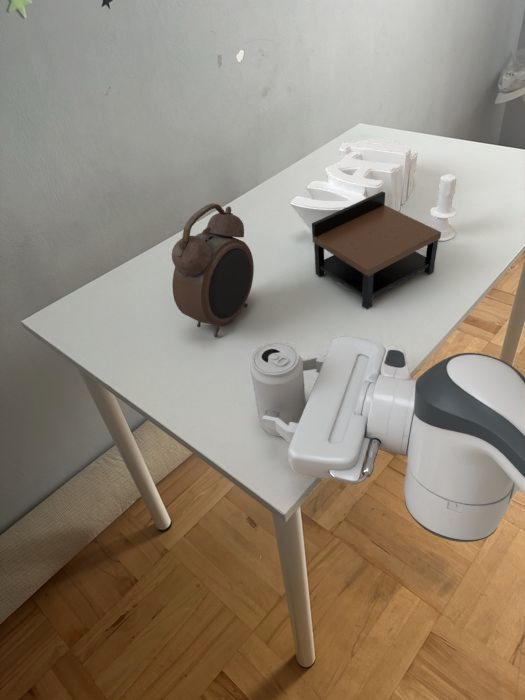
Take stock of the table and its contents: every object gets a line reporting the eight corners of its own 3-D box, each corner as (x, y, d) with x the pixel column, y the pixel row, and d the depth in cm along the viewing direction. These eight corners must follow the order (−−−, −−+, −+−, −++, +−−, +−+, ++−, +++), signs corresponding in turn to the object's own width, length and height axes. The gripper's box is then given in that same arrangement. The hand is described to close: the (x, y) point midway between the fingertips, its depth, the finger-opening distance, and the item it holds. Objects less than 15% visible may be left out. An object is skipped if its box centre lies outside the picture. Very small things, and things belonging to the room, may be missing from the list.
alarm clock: (217, 351, 80) (191, 241, 66) (182, 338, 83) (150, 230, 69) (266, 299, 88) (252, 192, 74) (232, 289, 91) (213, 184, 78)
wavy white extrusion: (359, 260, 93) (360, 208, 86) (284, 241, 101) (280, 191, 94) (429, 180, 113) (434, 132, 106) (361, 169, 121) (363, 124, 114)
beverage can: (281, 395, 71) (273, 331, 63) (316, 417, 68) (313, 353, 60) (250, 422, 68) (237, 360, 60) (285, 447, 65) (277, 384, 57)
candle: (431, 224, 100) (439, 165, 92) (458, 230, 97) (469, 170, 89) (421, 237, 97) (428, 178, 89) (448, 244, 94) (459, 183, 86)
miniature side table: (435, 272, 88) (443, 219, 81) (366, 310, 83) (368, 257, 76) (379, 241, 97) (382, 191, 90) (313, 274, 92) (311, 223, 85)
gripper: (367, 503, 54) (249, 471, 59) (401, 372, 68) (302, 354, 72) (369, 471, 50) (242, 439, 55) (404, 337, 63) (300, 320, 68)
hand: (277, 389), depth 64 cm, fingers open, 8 cm apart
